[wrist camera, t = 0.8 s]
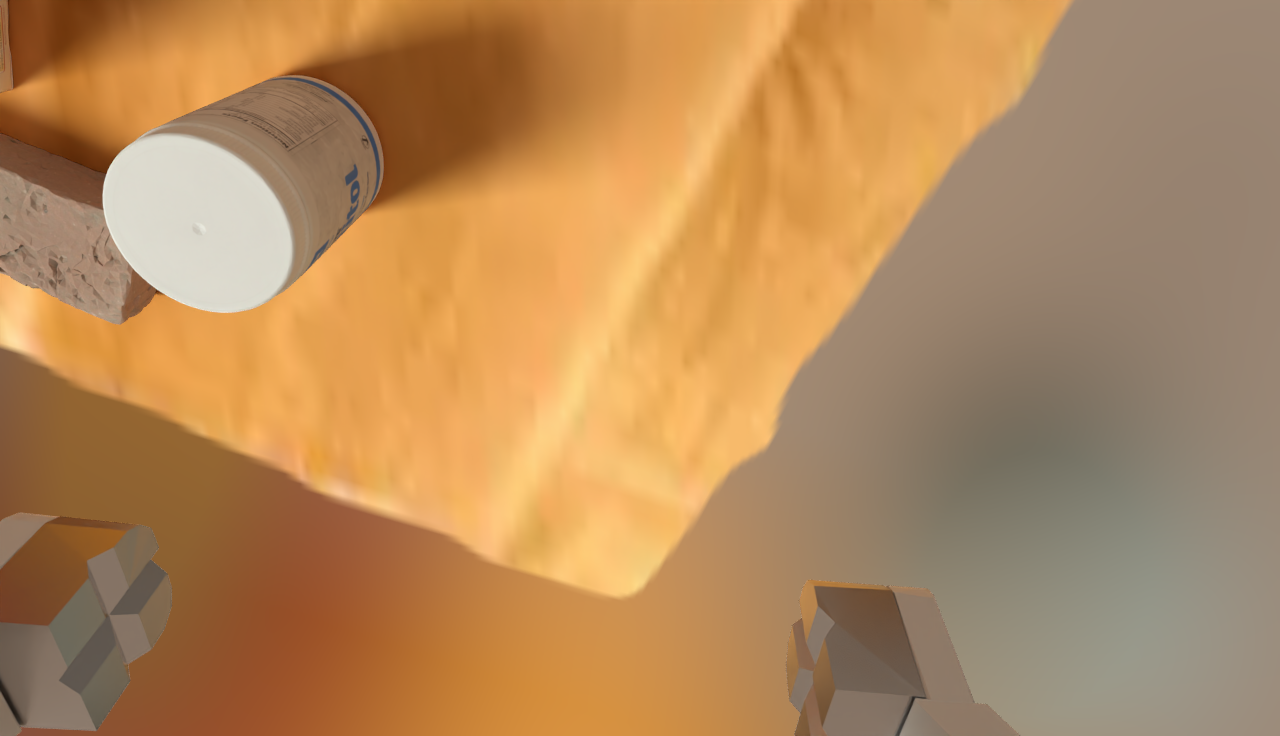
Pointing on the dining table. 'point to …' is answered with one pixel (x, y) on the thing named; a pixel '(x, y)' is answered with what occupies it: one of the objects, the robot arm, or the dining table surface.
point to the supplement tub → (243, 192)
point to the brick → (63, 234)
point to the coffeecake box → (5, 50)
